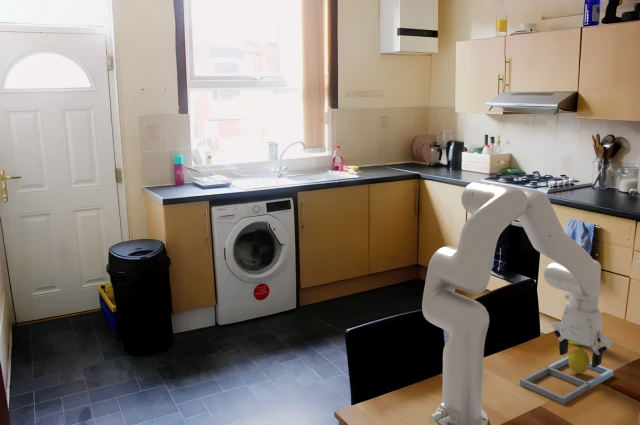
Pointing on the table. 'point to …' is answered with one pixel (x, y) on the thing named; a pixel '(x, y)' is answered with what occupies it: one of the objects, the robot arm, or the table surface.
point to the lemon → (578, 360)
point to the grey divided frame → (572, 394)
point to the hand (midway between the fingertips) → (579, 359)
